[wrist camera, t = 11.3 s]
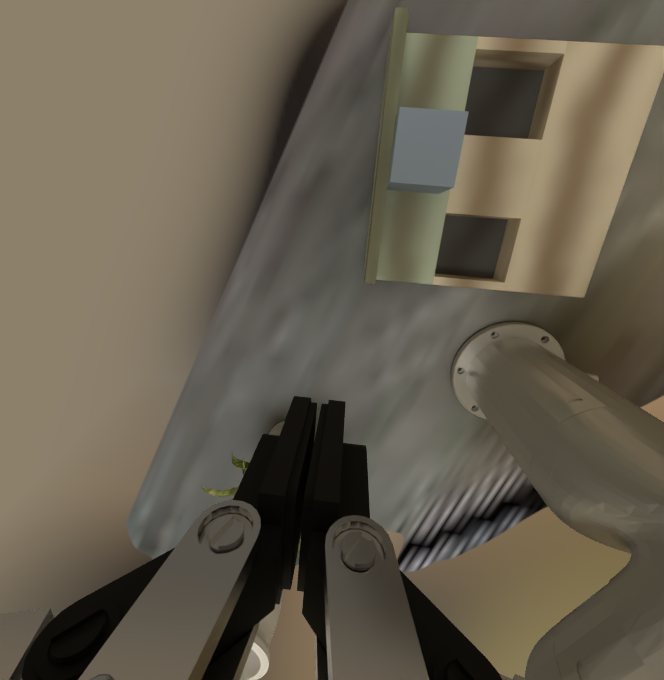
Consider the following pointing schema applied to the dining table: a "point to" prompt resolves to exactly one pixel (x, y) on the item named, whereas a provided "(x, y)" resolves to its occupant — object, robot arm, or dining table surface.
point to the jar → (261, 647)
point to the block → (426, 149)
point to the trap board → (510, 159)
